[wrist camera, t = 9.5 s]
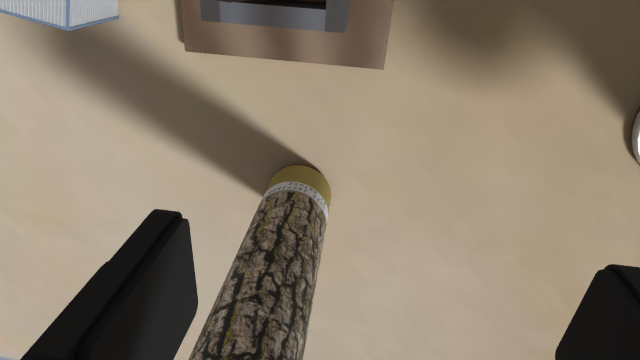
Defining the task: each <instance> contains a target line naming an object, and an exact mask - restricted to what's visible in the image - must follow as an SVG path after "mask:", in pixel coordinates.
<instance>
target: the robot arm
mask: <svg viewBox="0 0 640 360" xmlns="http://www.w3.org/2000/svg"><path fill="white" fill-rule="evenodd" d="M632 147H633V153H634V155H635V157H636V159H637V161H638V163H639V164H640V111H639V113H638V115H637V117H636V120H635V123H634V126H633V130H632ZM197 307H198V296H197V288H196V279H195V270H194V262H193V253H192V244H191V236H190V227H189V221H188V220H187V219H183V218H182V215H181V213H180V212H176V211H168V210H160V209H155V210H153V211H152V212H151V213H150V214H149V215H148V216H147V218H146V219H145V220H144V221H143V222H142V223H141V225H140V226H139V227H138V228H137V229H136V230H135V231H134V233H133V234H132V235H131V236H130V237H129V238H128V240H127V241H126V242H125V243H124V244H123V245H122V247H121V248H120V249H119V250H118V251H117V252H116V254H115V255H114V256H113V257H112V258H111V259H110V260H109V261H108V262H106V263H105V264H104V265H103V266H102V267H101V268H100V269H99V270H98V271H97V272H96V273H95V274H94V276H93V277H92V278H91V279H90V280H89V281H88V282H87V284H86V285H85V286H84V287H83V288H82V289H81V291H80V292H79V293H78V294H77V295H76V296H75V297H74V299H73V300H72V301H71V302H70V303H69V304H68V305H67V307H66V308H65V309H64V310H63V311H62V312H61V313H60V315H59V316H58V317H57V318H56V319H55V320H54V321H53V323H52V324H51V325H50V326H49V327H48V328H47V330H46V331H45V332H44V333H43V334H42V335H41V336H40V338H39V339H38V340H37V341H36V342H35V343H34V344H33V346H32V347H31V348H30V349H29V350H28V351H27V352H26V354H25V355H24V356H23V357H22V358H21V359H20V360H173V359H174V357H175V355H176V353H177V351H178V349H179V347H180V345H181V343H182V341H183V339H184V337H185V335H186V333H187V331H188V329H189V327H190V325H191V323H192V321H193V319H194V317H195V314H196V311H197ZM555 360H640V268H639V267H632V266H623V265H615V264H611V265H608V266H606V267H605V269H604V270H599V271H598V272H597V273H596V274H595V276H594V278H593V280H592V282H591V284H590V286H589V288H588V290H587V292H586V294H585V295H584V297H583V299H582V301H581V303H580V305H579V307H578V309H577V311H576V313H575V315H574V316H573V318H572V320H571V322H570V324H569V326H568V328H567V330H566V332H565V334H564V336H563V338H562V339H561V341H560V343H559V345H558V347H557V349H556V353H555Z"/></svg>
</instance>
